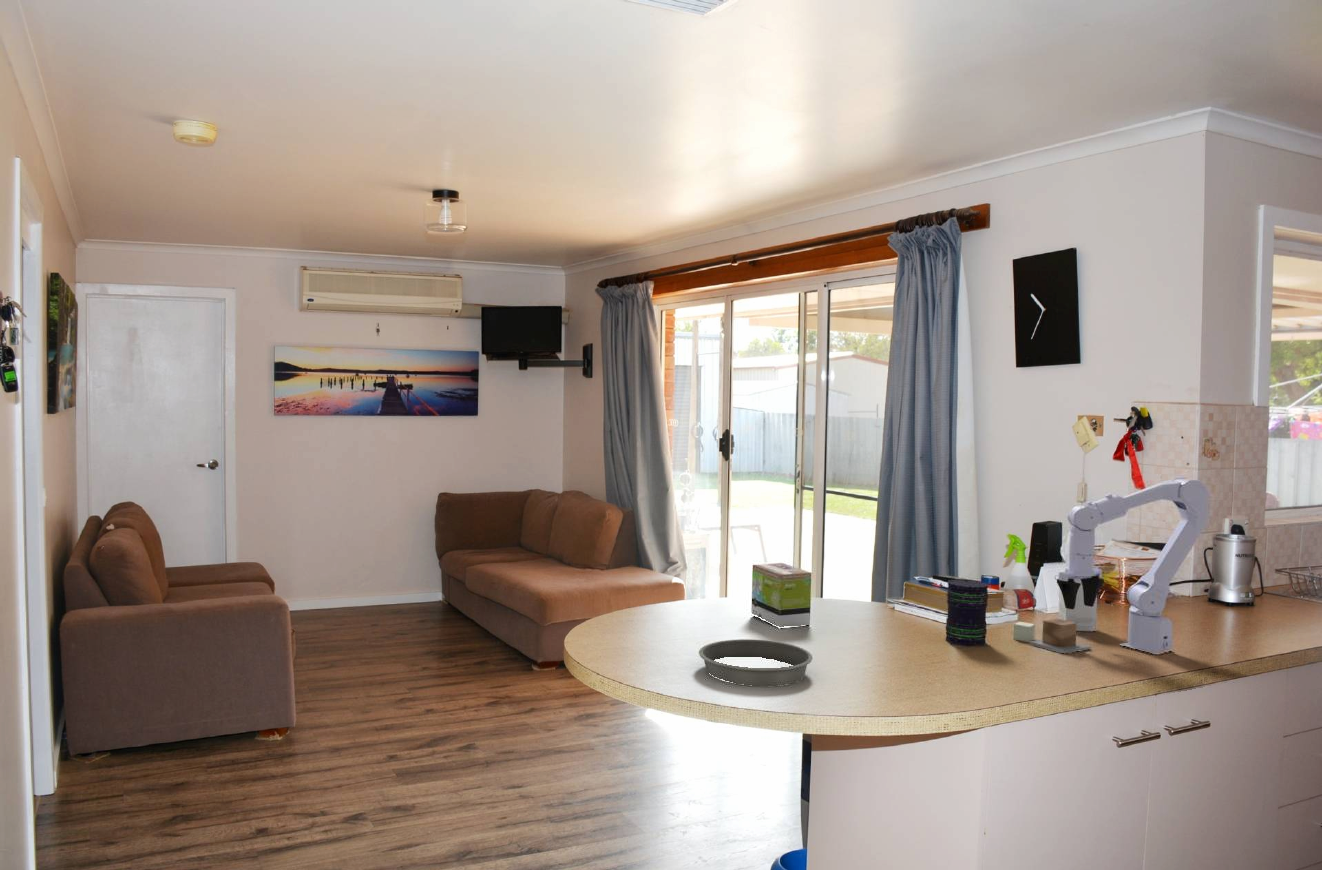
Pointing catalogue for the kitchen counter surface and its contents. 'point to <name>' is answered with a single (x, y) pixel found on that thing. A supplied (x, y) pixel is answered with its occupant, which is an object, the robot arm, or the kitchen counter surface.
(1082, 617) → the skincare box
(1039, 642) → the coaster
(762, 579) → the tea box
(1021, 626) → the sage block
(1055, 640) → the walnut block
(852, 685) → the kitchen counter surface
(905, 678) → the kitchen counter surface
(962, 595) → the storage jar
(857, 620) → the kitchen counter surface
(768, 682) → the cake pan
